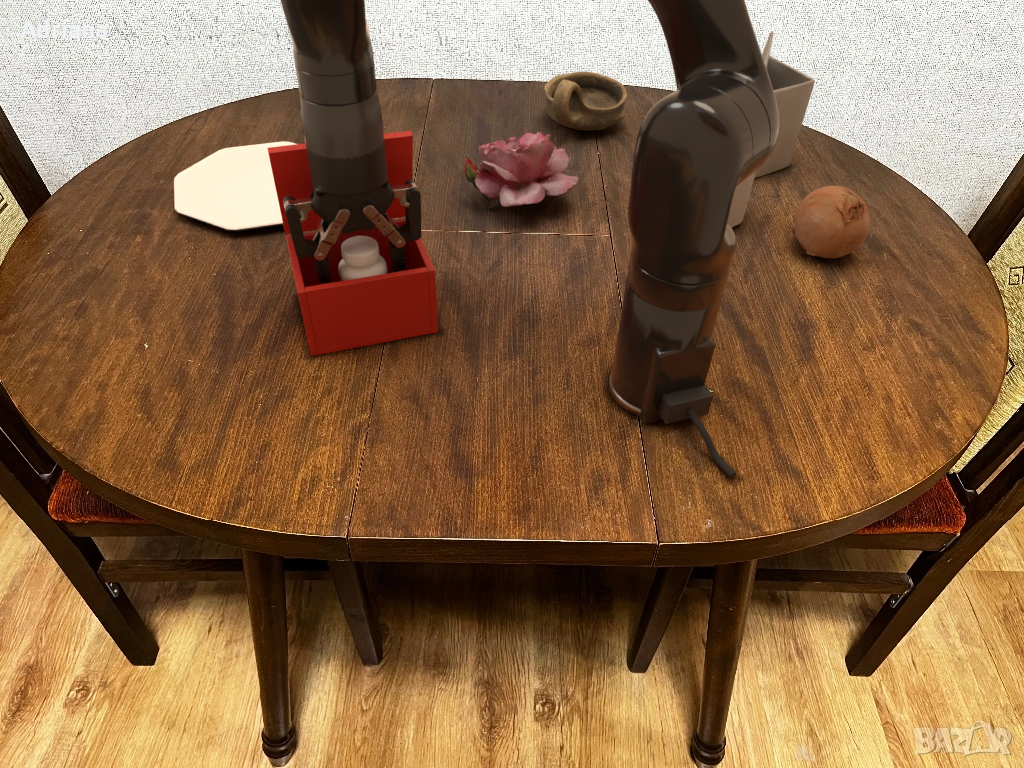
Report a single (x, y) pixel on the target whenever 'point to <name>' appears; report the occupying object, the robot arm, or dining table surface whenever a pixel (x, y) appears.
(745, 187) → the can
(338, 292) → the red box
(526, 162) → the flower
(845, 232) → the onion
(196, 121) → the dining table surface
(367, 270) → the supplement bottle
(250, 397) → the dining table surface
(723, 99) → the robot arm
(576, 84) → the bowl
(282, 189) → the red box lid
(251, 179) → the plate
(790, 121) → the planter
